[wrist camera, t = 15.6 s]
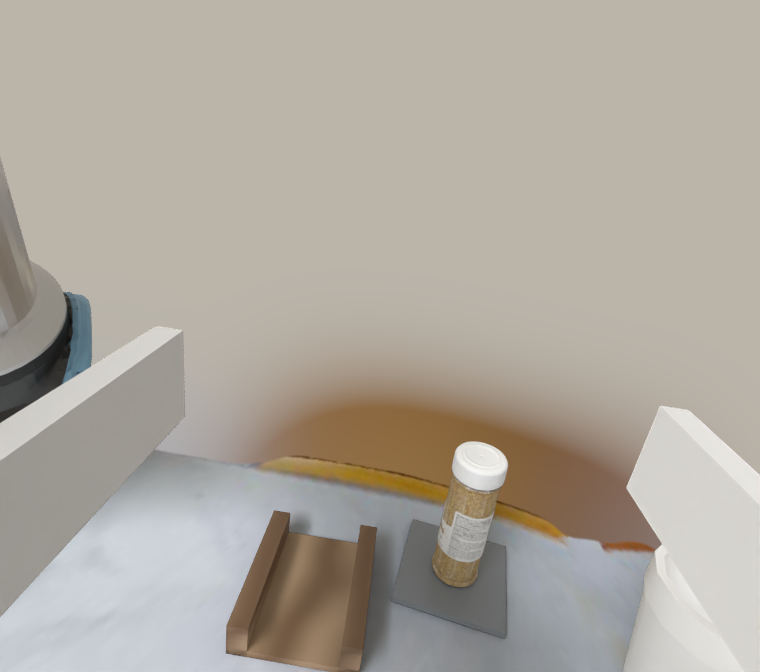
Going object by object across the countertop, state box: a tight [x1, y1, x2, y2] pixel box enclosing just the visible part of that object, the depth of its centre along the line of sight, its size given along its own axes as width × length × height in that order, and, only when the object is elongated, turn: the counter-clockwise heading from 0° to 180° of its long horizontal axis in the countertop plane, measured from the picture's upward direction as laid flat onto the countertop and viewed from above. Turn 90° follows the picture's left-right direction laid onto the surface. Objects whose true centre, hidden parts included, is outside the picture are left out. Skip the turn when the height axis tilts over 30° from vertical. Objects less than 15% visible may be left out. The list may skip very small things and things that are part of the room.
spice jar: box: [432, 442, 508, 587], centre depth 42 cm, size 5×4×13 cm
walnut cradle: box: [226, 511, 377, 672], centre depth 40 cm, size 10×12×3 cm
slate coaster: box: [391, 519, 506, 639], centre depth 44 cm, size 10×10×1 cm
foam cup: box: [622, 544, 744, 672], centre depth 33 cm, size 10×9×13 cm
